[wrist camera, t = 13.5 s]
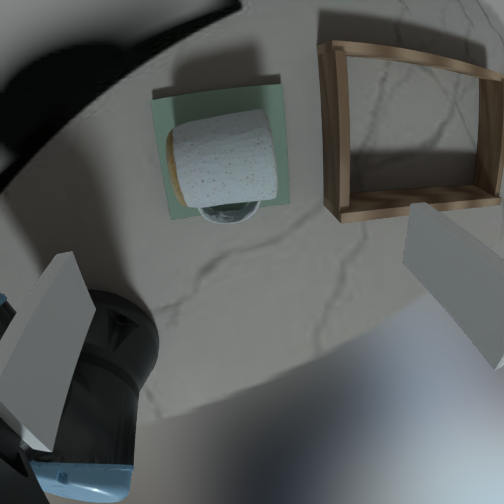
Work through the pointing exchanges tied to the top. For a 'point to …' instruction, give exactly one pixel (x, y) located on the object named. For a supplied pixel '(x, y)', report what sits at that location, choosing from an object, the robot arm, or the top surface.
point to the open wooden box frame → (398, 201)
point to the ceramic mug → (223, 164)
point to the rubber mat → (216, 104)
